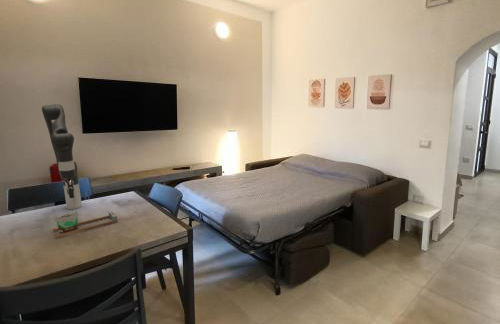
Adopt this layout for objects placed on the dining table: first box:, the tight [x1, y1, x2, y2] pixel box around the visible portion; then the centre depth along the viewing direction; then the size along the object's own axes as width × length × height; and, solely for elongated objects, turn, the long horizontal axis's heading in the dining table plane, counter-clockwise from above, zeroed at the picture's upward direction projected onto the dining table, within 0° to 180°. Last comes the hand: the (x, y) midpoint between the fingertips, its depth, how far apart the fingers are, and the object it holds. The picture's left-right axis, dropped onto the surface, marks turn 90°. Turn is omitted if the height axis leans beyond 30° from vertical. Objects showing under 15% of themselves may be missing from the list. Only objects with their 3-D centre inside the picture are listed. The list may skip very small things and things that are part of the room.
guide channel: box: [52, 211, 118, 239], centre depth 172 cm, size 11×32×4 cm, turn 131°
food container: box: [54, 210, 79, 234], centre depth 166 cm, size 12×6×10 cm, turn 143°
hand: (70, 195), depth 163 cm, fingers open, 8 cm apart
